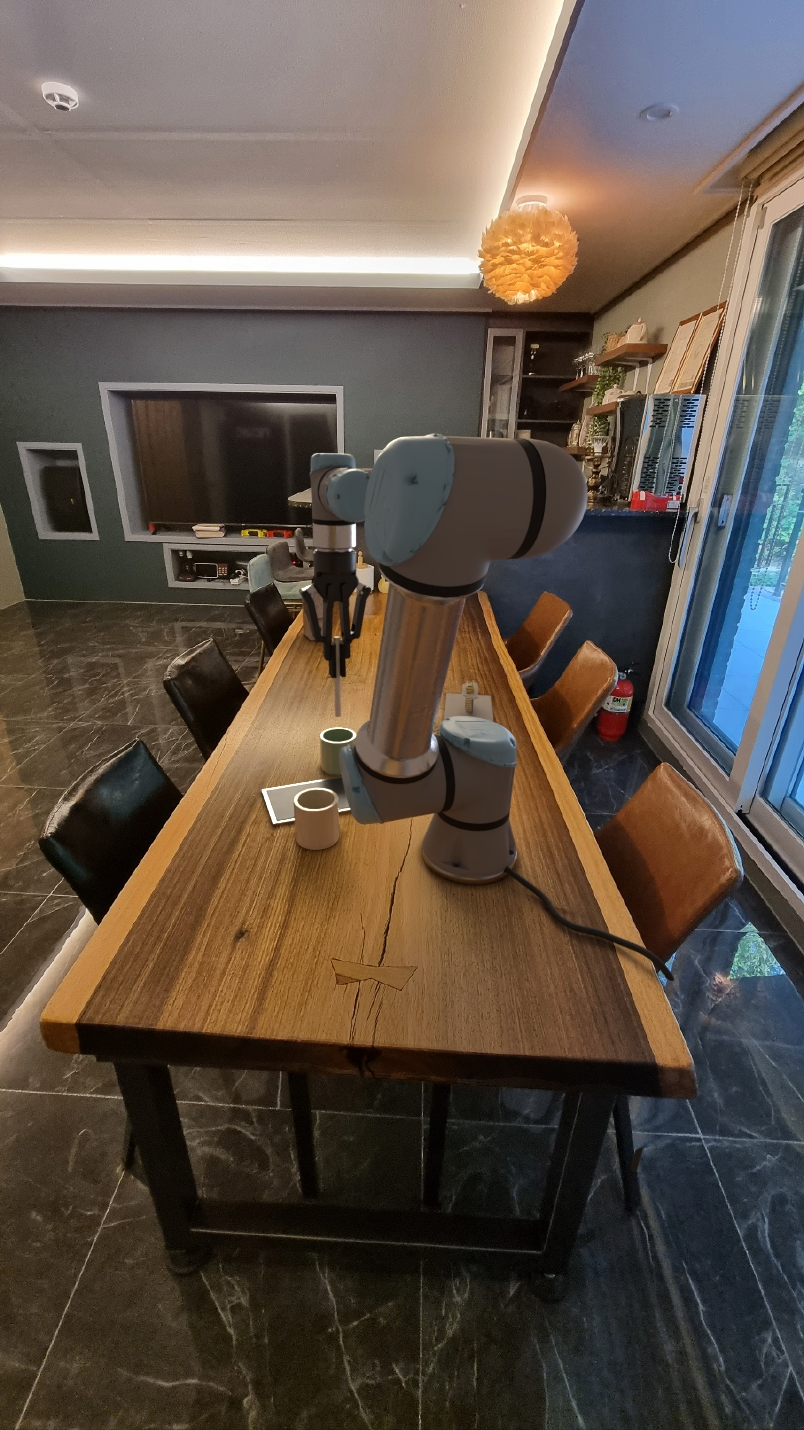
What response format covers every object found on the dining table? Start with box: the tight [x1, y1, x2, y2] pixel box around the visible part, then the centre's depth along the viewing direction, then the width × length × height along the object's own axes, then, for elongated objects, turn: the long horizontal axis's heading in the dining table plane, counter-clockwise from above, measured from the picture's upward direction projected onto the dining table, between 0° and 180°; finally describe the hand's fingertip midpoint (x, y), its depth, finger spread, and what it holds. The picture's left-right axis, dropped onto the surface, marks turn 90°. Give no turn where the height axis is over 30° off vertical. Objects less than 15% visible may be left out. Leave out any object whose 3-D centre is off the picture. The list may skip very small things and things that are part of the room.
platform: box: [443, 679, 494, 722], centre depth 155 cm, size 12×18×7 cm, turn 175°
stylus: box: [332, 635, 342, 718], centre depth 117 cm, size 1×1×16 cm
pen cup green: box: [319, 727, 357, 776], centre depth 124 cm, size 7×7×8 cm
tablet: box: [261, 776, 351, 827], centre depth 113 cm, size 12×17×1 cm
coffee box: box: [301, 590, 323, 641], centre depth 207 cm, size 9×6×16 cm
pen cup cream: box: [294, 788, 340, 851], centre depth 102 cm, size 7×7×8 cm
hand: (337, 675), depth 117 cm, fingers closed on stylus
